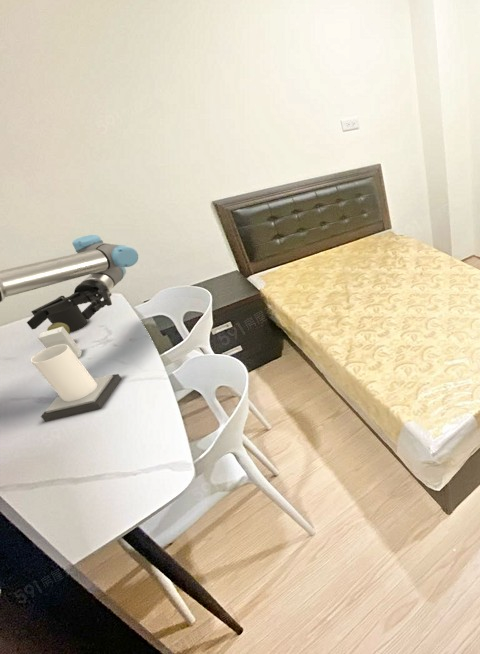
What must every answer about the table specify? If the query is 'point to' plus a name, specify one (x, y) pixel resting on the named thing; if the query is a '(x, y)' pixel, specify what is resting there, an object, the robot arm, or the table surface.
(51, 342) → the cosmetic box
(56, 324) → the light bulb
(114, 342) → the table surface
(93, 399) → the scale
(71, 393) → the cup
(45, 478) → the table surface
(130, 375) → the table surface
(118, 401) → the table surface
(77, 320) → the pen holder
